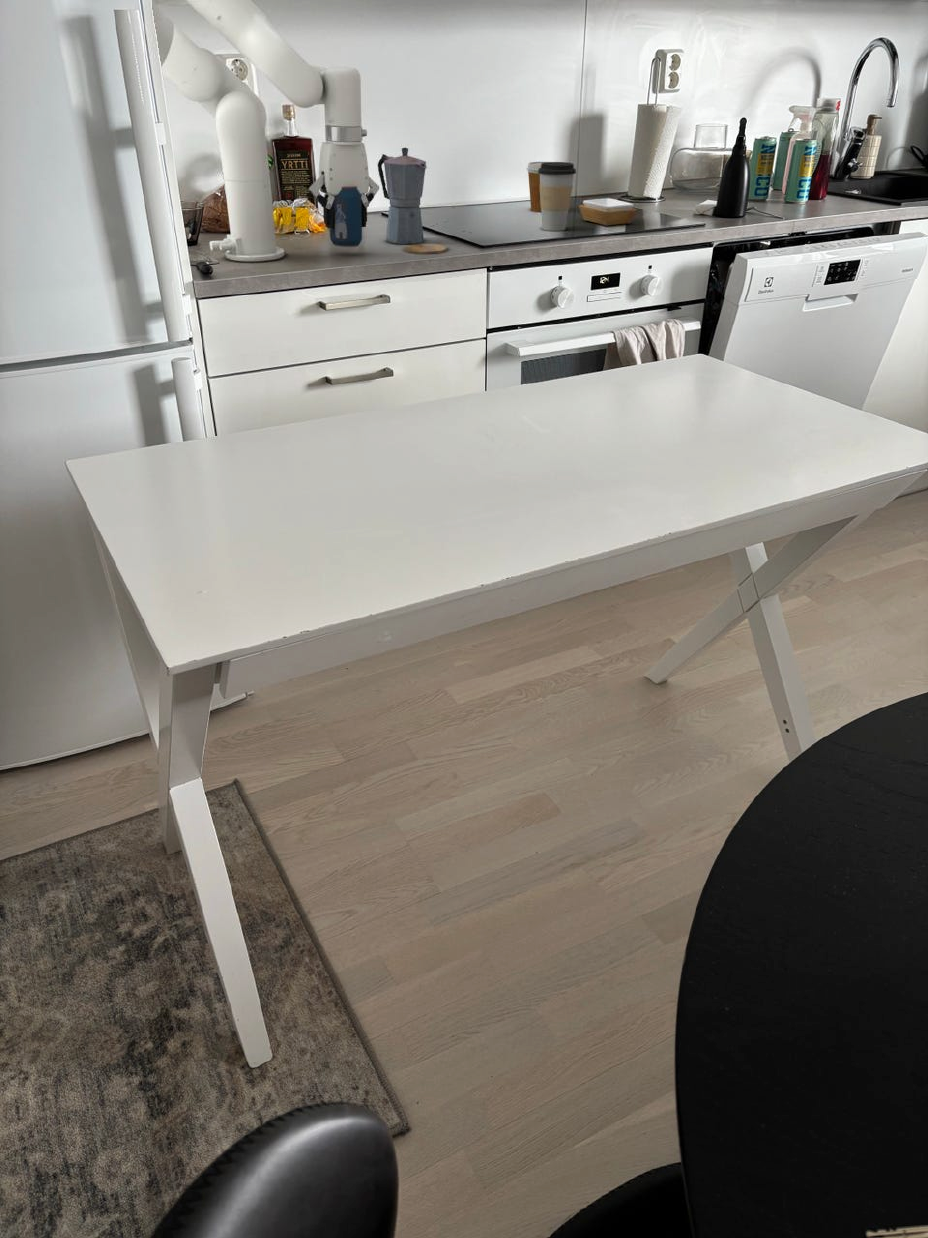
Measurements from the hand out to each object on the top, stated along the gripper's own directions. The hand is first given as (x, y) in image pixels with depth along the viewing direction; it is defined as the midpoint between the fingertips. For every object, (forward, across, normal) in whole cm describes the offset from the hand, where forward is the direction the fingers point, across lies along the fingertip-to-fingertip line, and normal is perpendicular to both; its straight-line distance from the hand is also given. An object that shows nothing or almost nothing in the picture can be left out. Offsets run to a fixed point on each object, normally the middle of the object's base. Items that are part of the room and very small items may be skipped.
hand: (345, 226), depth 203 cm
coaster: (+5, -18, +4) cm, 19 cm away
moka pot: (+6, -19, -8) cm, 22 cm away
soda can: (+4, 0, 0) cm, 4 cm away
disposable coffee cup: (+4, -76, -30) cm, 82 cm away
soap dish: (+4, -78, -4) cm, 78 cm away
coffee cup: (+4, -60, -4) cm, 60 cm away
